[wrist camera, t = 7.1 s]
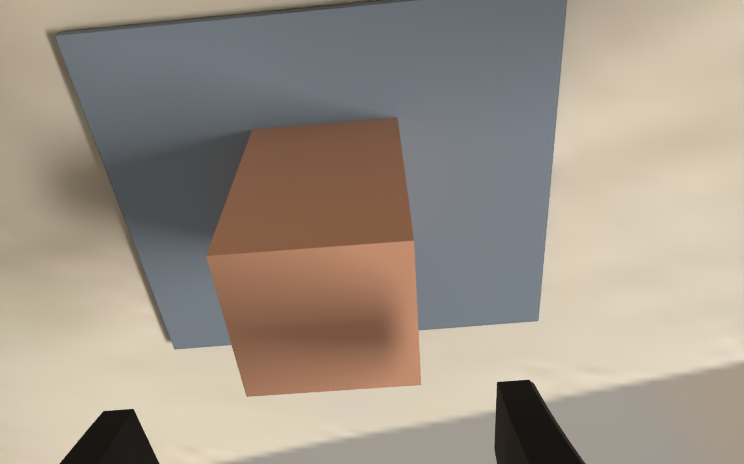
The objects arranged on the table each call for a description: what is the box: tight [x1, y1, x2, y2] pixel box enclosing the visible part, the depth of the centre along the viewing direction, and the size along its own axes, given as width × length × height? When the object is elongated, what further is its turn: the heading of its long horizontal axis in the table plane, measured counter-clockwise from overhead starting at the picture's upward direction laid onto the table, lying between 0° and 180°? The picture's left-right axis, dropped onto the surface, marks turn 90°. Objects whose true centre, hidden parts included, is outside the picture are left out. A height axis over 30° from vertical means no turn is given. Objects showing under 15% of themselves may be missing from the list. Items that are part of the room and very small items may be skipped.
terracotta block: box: [206, 118, 421, 397], centre depth 16 cm, size 4×4×6 cm
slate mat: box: [55, 0, 567, 349], centre depth 20 cm, size 14×12×1 cm
